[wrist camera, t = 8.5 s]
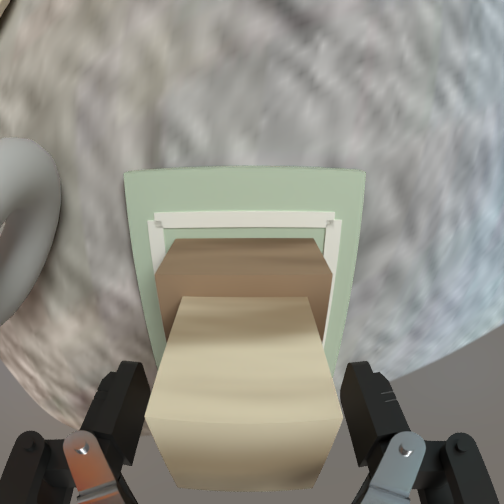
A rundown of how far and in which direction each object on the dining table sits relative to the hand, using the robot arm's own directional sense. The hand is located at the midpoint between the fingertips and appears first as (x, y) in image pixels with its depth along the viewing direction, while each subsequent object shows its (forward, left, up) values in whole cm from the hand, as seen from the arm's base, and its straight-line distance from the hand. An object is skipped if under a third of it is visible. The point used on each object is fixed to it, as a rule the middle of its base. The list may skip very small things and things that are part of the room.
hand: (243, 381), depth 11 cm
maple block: (0, 0, -2) cm, 2 cm away
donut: (-5, -12, -7) cm, 15 cm away
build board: (0, 0, -7) cm, 7 cm away
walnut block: (0, 0, -6) cm, 6 cm away
